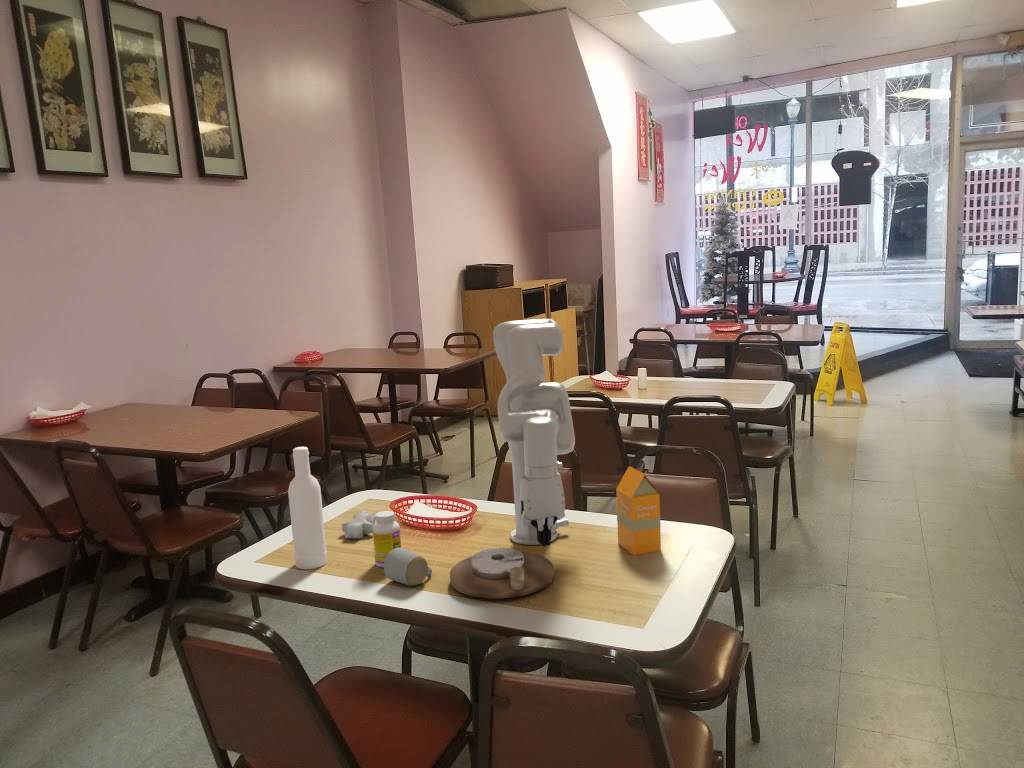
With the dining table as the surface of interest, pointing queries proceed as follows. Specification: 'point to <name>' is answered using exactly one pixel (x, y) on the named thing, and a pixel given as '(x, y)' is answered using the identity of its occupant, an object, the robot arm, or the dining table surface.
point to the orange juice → (638, 513)
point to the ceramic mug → (406, 567)
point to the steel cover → (496, 563)
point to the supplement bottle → (385, 536)
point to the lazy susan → (519, 584)
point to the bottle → (306, 514)
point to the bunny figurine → (359, 525)
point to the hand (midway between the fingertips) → (544, 544)
